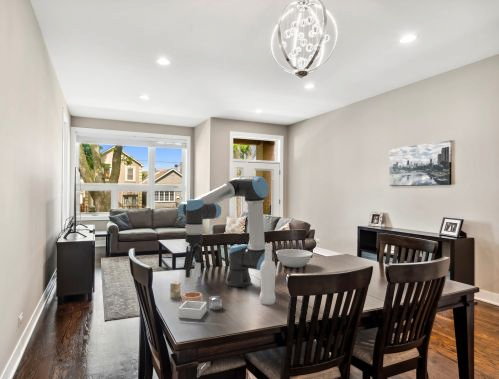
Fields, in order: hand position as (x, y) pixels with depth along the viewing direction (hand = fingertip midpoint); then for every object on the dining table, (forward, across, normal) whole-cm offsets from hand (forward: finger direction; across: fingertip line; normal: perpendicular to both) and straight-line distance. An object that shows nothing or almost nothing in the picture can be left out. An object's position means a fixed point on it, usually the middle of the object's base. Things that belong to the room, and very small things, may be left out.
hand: (193, 280), depth 152 cm
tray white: (+16, 0, 0) cm, 16 cm away
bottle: (+16, -23, +32) cm, 43 cm away
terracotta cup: (+16, -12, -4) cm, 21 cm away
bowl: (+15, -104, +45) cm, 115 cm away
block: (+16, -21, -16) cm, 31 cm away
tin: (+16, -10, +8) cm, 21 cm away
